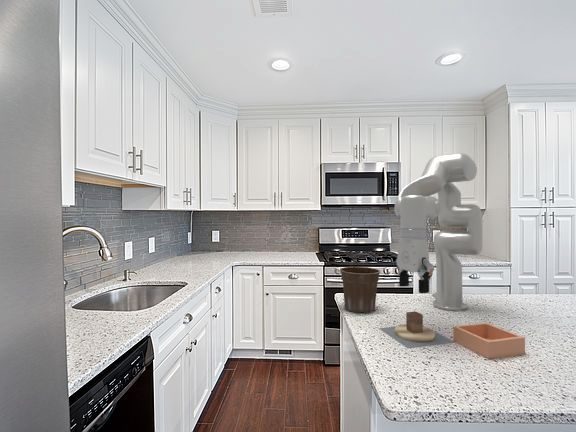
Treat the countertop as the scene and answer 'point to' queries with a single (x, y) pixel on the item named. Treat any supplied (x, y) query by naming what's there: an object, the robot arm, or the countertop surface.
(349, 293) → the plant pot
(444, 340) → the mat
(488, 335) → the salmon open box
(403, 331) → the lid
